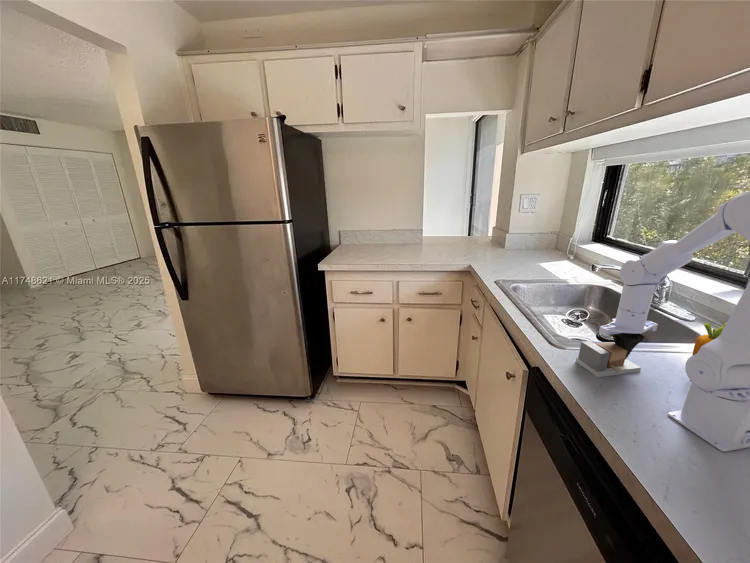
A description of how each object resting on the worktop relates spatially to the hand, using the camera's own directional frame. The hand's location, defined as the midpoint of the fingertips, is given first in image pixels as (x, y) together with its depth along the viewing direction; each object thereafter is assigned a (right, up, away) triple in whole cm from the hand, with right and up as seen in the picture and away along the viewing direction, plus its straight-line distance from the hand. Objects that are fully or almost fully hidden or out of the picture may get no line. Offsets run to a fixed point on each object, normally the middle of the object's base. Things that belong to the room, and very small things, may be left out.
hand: (620, 357), depth 80 cm
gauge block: (-4, -2, -1) cm, 4 cm away
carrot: (+14, -4, -6) cm, 16 cm away
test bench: (-3, -2, 0) cm, 4 cm away
